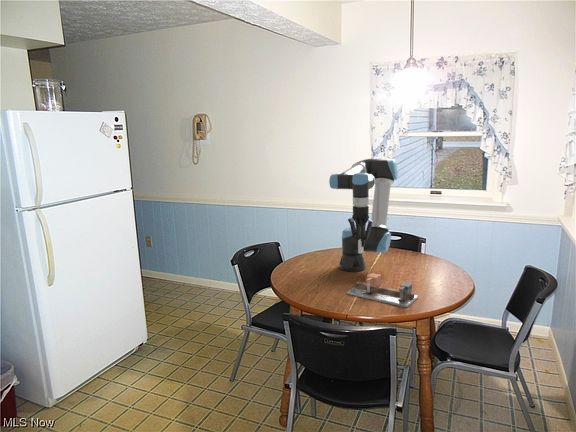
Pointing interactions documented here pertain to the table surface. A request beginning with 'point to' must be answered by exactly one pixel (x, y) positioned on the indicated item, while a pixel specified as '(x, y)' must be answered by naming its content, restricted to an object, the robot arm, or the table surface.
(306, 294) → the table surface
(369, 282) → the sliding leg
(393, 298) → the bolt plate
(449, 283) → the table surface
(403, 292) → the rail and fixed leg
